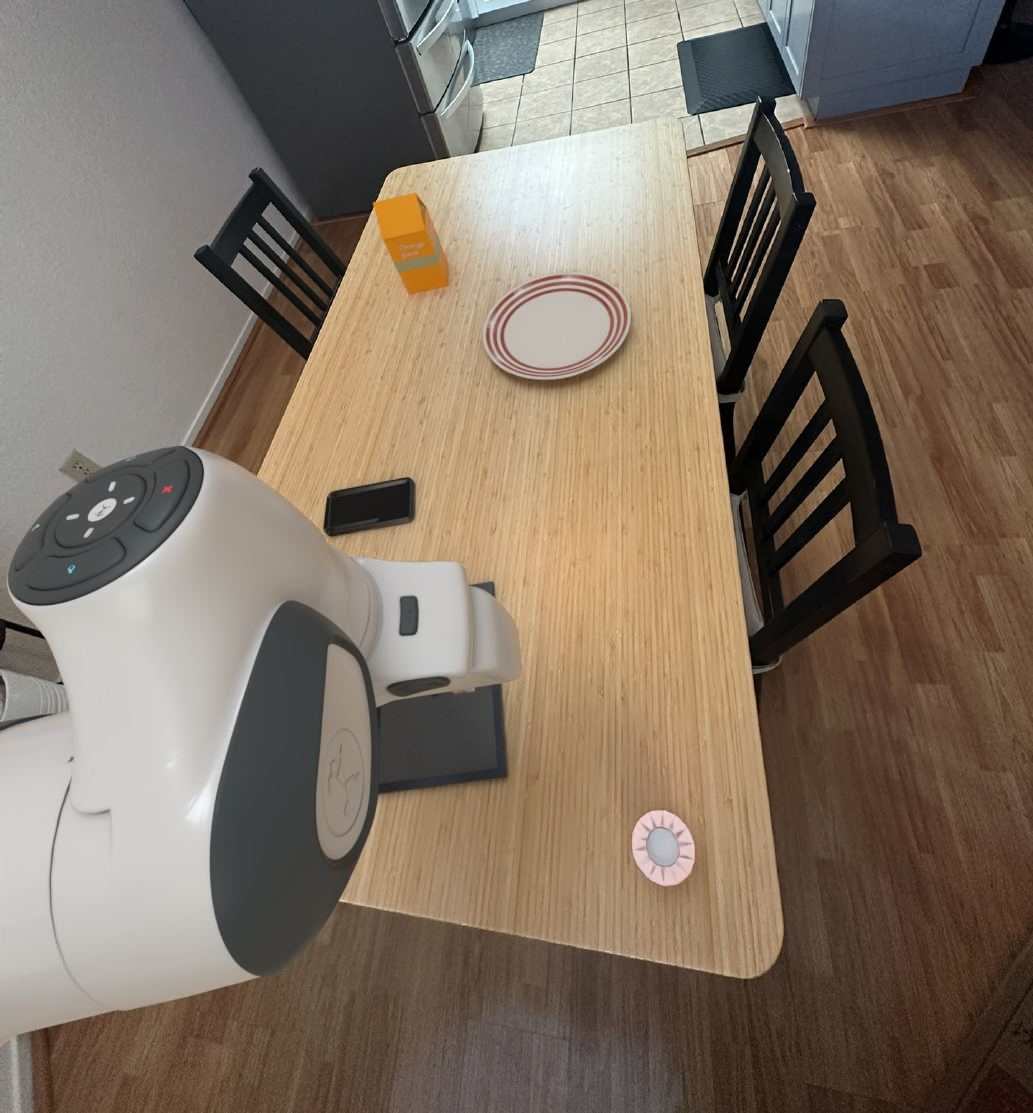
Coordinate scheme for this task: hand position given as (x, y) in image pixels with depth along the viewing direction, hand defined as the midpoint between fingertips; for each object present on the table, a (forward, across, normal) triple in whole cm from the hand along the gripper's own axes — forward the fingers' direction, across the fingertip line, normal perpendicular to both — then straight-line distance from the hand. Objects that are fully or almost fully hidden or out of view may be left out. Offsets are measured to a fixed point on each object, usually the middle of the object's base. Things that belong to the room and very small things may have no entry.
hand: (405, 691), depth 44 cm
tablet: (+34, -8, +9) cm, 36 cm away
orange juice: (+33, -9, +91) cm, 97 cm away
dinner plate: (+33, +16, +67) cm, 77 cm away
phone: (+34, -19, +37) cm, 54 cm away
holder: (+34, +16, -11) cm, 40 cm away
